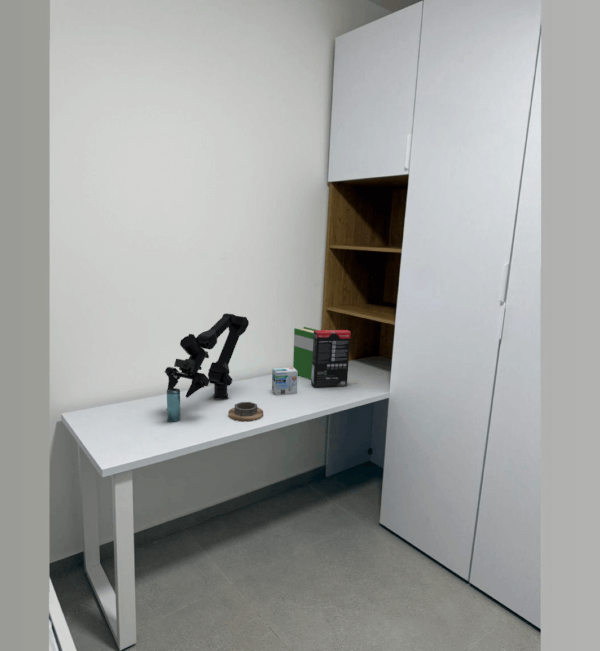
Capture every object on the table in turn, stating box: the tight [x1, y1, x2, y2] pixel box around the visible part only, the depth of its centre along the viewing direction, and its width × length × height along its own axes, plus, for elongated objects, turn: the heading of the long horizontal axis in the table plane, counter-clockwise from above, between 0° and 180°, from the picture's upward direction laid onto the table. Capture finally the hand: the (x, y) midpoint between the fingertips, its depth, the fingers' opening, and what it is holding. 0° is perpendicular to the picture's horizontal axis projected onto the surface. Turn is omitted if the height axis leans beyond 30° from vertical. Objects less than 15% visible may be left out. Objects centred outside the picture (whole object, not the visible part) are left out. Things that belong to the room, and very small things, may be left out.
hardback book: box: [292, 326, 317, 381], centre depth 254 cm, size 18×7×24 cm, turn 42°
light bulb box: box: [271, 366, 298, 396], centre depth 230 cm, size 11×7×11 cm, turn 108°
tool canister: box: [166, 387, 182, 423], centre depth 194 cm, size 5×5×12 cm
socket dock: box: [227, 401, 264, 422], centre depth 202 cm, size 14×14×4 cm
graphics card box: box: [310, 329, 352, 388], centre depth 240 cm, size 17×7×27 cm, turn 105°
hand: (177, 394), depth 195 cm, fingers open, 9 cm apart
